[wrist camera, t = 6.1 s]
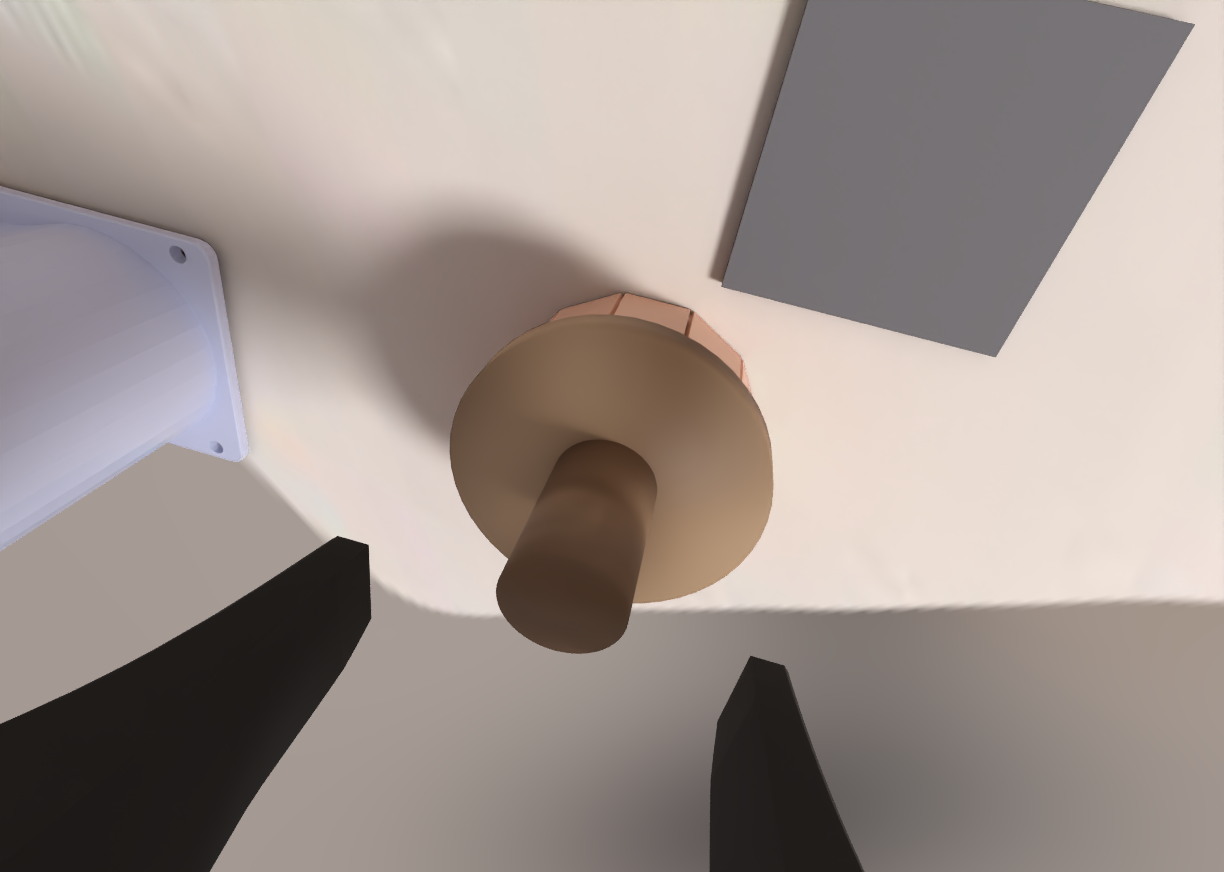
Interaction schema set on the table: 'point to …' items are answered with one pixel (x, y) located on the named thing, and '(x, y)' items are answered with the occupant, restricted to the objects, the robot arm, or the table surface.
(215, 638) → the robot arm
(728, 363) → the bowl
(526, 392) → the lid
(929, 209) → the mat
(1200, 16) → the table surface
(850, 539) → the table surface
